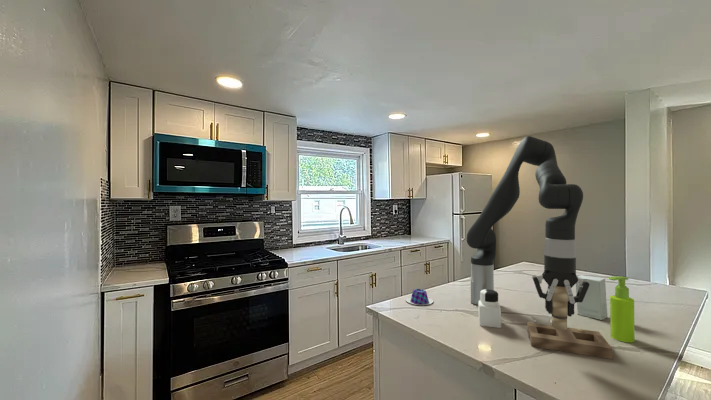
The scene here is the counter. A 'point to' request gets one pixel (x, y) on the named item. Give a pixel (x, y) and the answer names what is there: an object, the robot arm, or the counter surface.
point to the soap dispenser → (622, 312)
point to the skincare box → (593, 298)
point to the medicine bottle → (489, 309)
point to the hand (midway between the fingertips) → (559, 313)
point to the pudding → (419, 297)
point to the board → (569, 340)
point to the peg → (560, 308)
